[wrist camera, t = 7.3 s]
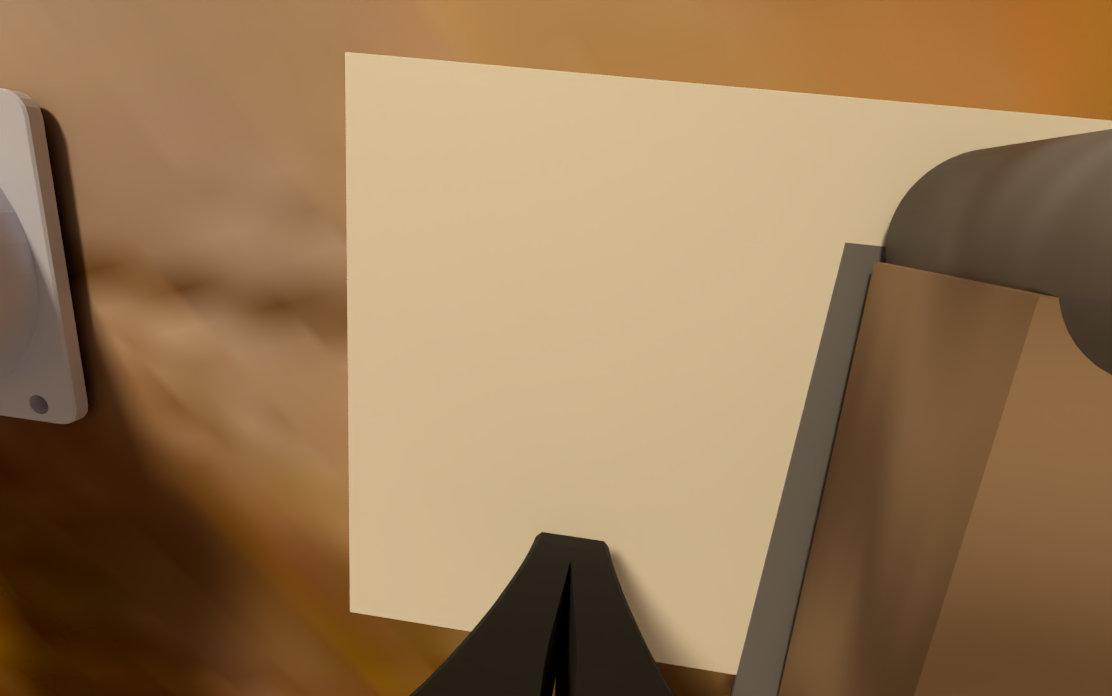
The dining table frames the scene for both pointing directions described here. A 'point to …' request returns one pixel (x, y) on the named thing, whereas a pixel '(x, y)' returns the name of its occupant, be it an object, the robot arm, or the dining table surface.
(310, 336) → the dining table surface
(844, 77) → the dining table surface
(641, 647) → the robot arm
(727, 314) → the stool seat
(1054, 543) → the stool leg
